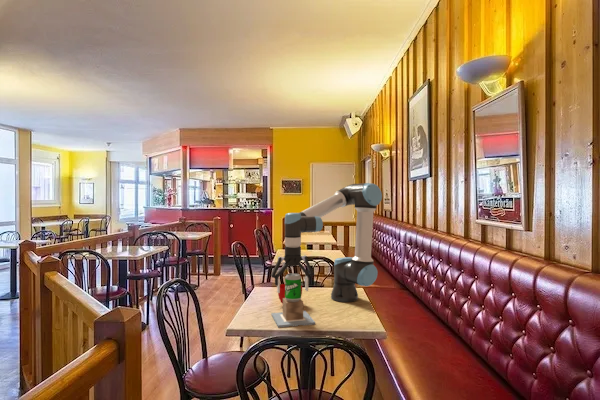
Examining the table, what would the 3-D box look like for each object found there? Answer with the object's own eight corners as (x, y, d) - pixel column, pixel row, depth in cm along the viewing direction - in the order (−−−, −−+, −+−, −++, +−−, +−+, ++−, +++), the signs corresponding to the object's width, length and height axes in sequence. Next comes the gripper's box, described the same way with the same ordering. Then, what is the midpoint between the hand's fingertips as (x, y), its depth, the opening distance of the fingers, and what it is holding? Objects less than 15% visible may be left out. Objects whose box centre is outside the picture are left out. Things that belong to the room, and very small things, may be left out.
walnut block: (298, 313, 176) (299, 297, 176) (303, 319, 168) (303, 301, 168) (282, 315, 174) (282, 298, 174) (286, 320, 166) (286, 303, 166)
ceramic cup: (303, 299, 203) (303, 282, 203) (300, 309, 186) (301, 289, 186) (280, 299, 204) (280, 281, 204) (275, 308, 187) (275, 289, 187)
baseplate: (305, 312, 181) (305, 310, 181) (315, 324, 165) (315, 321, 165) (271, 315, 177) (271, 312, 177) (278, 327, 160) (278, 325, 160)
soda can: (292, 297, 176) (292, 272, 175) (304, 300, 171) (304, 274, 171) (281, 300, 170) (281, 274, 170) (294, 303, 165) (294, 277, 165)
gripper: (316, 244, 177) (315, 287, 177) (265, 245, 171) (264, 291, 171) (320, 246, 170) (320, 291, 170) (267, 248, 164) (267, 295, 164)
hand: (292, 291), depth 171 cm, fingers open, 13 cm apart
